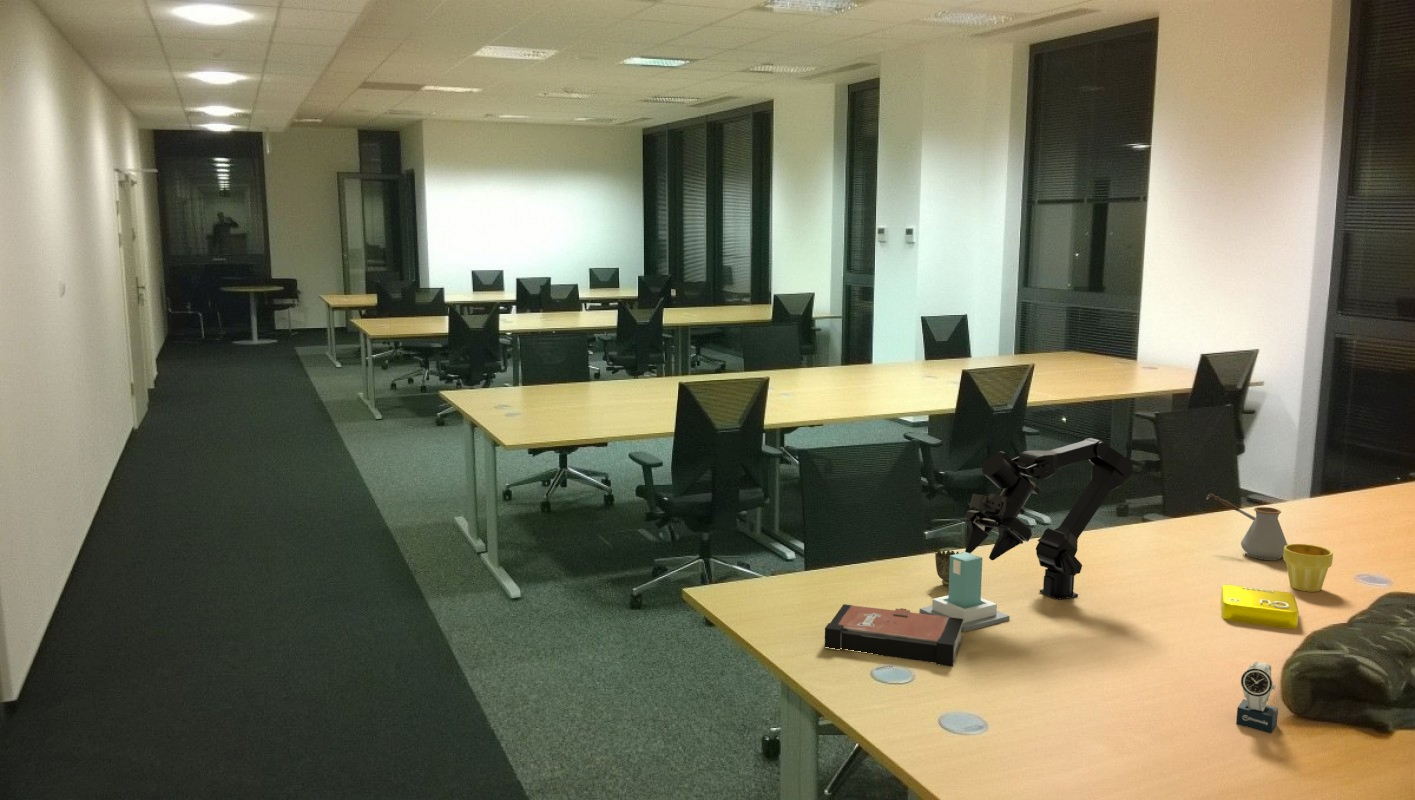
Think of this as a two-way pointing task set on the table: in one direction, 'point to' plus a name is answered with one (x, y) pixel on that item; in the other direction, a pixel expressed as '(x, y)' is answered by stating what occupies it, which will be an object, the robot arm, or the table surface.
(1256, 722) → the watch
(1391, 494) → the table surface
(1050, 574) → the robot arm
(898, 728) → the table surface
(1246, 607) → the element tile
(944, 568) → the cup
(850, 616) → the book
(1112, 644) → the table surface
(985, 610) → the square socket base
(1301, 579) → the plant pot
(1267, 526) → the coffee pot
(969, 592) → the teal rectangular block
